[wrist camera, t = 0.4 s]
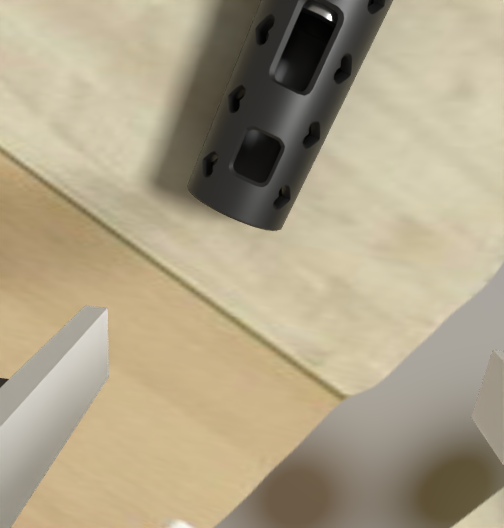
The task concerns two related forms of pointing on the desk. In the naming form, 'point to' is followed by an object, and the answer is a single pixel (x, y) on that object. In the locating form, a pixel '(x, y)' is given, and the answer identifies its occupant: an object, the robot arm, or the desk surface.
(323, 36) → the muzzle brake
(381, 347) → the desk surface
